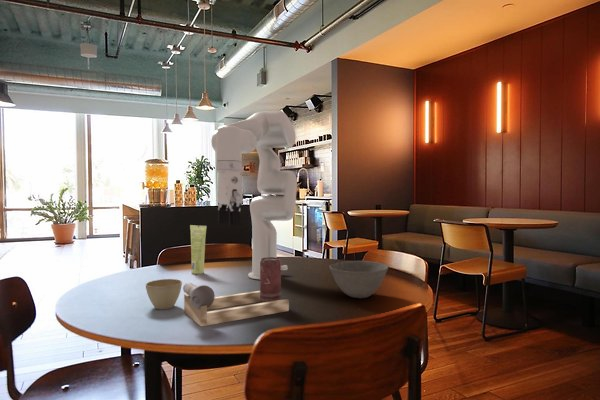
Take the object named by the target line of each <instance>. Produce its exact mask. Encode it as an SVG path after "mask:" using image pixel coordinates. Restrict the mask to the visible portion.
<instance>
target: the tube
mask: <svg viewBox="0 0 600 400" xmlns="http://www.w3.org/2000/svg"><path fill="white" fill-rule="evenodd" d="M189 230H190V250H191V251H190V252H191V254H190V255H191V257H190V258H191V263H190V265H191V266H190V267H191V274H194V275H200V274H201V275H202V274H203V273H204V272H205V253H206V252H205V251H206V239H207V238H206V235H207V225H195V224H194V225H193V224H190V225H189Z"/></svg>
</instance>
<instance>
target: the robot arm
mask: <svg viewBox="0 0 600 400" xmlns="http://www.w3.org/2000/svg"><path fill="white" fill-rule="evenodd" d="M296 139H297V138H296V131H295V128H294V126H293V125H292V122H291V120H290V118H289V117H288V115H287V114H286V113H285V112H284V111H281V110H268V111H264V110H263V111H258V112H255V113H253V114H251V115H250V116H249V117H247V118H246V119H243V120H239V121H235V122H233V123H229V124H226V125H221V126H219V127H218V128H216V130H215V131H214V132H213V134H212V136H211V139H210V140H211V141H210V142H211V147H212V149H213V151H215V152H216V154H215V155H216V156H215V157H216V160H215V163H216V169H215V170H216V171H215V173H218V177H217V194H216V195H217V205H218V207H217V211H218V212H217V222H218V224H228V225H229V226H240V225H241V206H242V204H243V202H244V200H243V199H244V197H243V181H242V180H243V179H242V154H250V153H252V152H254V151H255V150H256V152H257V154H258V160H259V165H258V171H257V172H258V173H257V182H256V187H257V192H259V193H260V194H263V195H259V196H255V197H253V198H252V199H251V201H250V203H249V211H250V217H251V218H250V219H251V225H252V228H251V231H252V232H251V233H252V235H251V236H252V237H251V238H252V239H251V242H252V244H251V245H252V247H251V248H252V250H251V251H252V256H251V257H252V260H251V261H252V263H251V264H252V265H251V269H252V270H251V271H250V272H248V278H249V279H253V280H260V261H261V259H262V258H267V257H275V258H278V253H277V251H278V249H277V248H278V247H277V244H278V243H277V242H278V240H277V238H278V236H277V235H278V233H277V229H276V227H275V225H274V224H273V222H274V221H276V222H277V221H282V222H285V221H291V220H292V219H293V218H294V216H295V212H296V211H295V210H296V201H297V191H298V181H297V180H298V179H297V175H296V174H295V172H294V171H291V170H281V164H282V163H281V159H280V157H279V156H278V154H277V153H276V152H275V151H274V150H273V148H275V149H277V148H279V149H280V148H281V149H283V148H291V147H293V146H294V145H295V143H296ZM229 210H230V211H229ZM272 221H273V222H272ZM287 270H288V265H287V264H284V265H281V271H287Z"/></svg>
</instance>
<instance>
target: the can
mask: <svg viewBox="0 0 600 400" xmlns="http://www.w3.org/2000/svg"><path fill="white" fill-rule="evenodd" d="M281 266H282V260H281V259H280V258H279V257H277V258H275V257H267V258H262V259H261V261H260V279H259V285H260V286H259V291H260V302H259V303H264V302H271V301H277V300H282V272H281V271H282V270H281Z"/></svg>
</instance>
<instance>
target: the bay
mask: <svg viewBox="0 0 600 400" xmlns="http://www.w3.org/2000/svg"><path fill="white" fill-rule="evenodd" d="M182 290H183V292H184V293H185V294H183V297H184V298H183V301H184V302H183V304H184V306H183V307H184V309H183V310H184V311H183V312H184V313H185V314H186V315H187V316H188V317H190V318H191V320H193V321H194V322H195V323H196V324H198V325H199V326H200V327H205V326H212V325H216V324H222V323H229V322H233V321H239V320H245V319H251V318H256V317H261V316H265V315H266V316H267V315H273V314H279V313H284V312H289V310H290V300H289V299H287V298H284V299H281V300H277V301H271V302H264V303H260V290H255V291H250V292H249V291H248V292H242V293H235V294H228V295H220V296H216V295H215V292H214V290H213V288H212V287H210V286H209V285H206V284H202V285H198V286H197V285H196V284H194V283H193V282H186V283H185V284H184V285H183V287H182Z"/></svg>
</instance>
